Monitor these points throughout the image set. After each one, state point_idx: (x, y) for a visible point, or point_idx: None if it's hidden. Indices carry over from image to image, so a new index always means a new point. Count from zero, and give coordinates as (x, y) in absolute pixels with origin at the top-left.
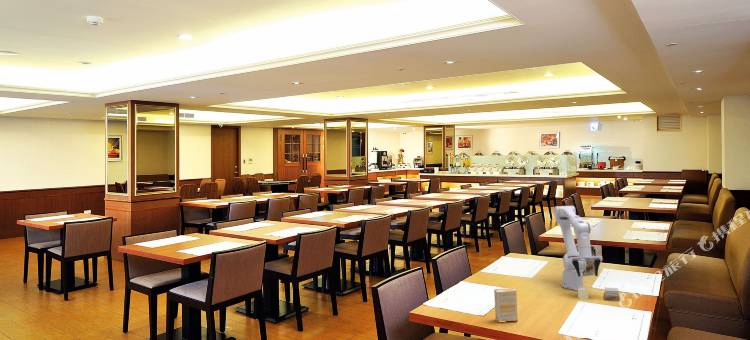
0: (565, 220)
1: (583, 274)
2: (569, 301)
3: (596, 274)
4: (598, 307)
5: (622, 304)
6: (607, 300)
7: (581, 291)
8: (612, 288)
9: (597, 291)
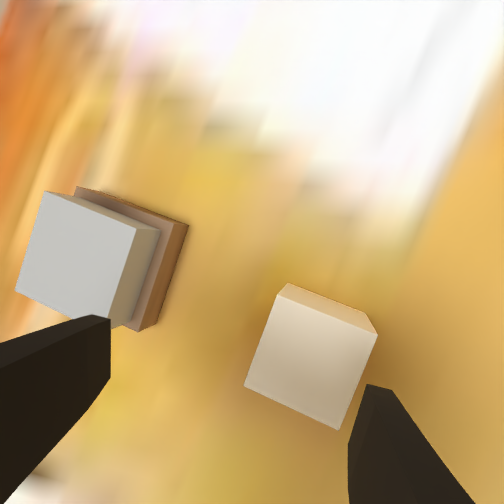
0: None
1: None
2: (490, 216)
3: (87, 323)
4: (307, 33)
5: (112, 115)
6: (169, 218)
7: (341, 314)
8: (55, 289)
9: (144, 466)
